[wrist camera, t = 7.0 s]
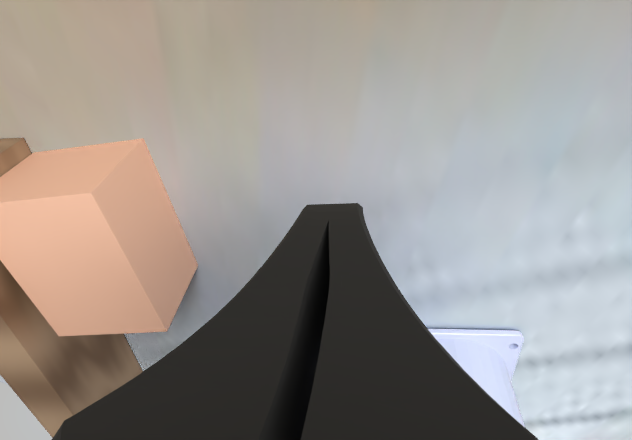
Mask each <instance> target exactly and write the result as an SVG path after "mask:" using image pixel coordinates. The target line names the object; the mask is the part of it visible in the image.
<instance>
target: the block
mask: <svg viewBox="0 0 632 440" xmlns="http://www.w3.org/2000/svg"><path fill="white" fill-rule="evenodd" d="M0 260H1V262H2V263H3V264H4V266H5V267H6V268H7V270H8V271H9V272H10V273H11V275H12V276H13V277H14V279H15V280H16V281H17V283H18V284H19V285H20V286H21V288H22V289H23V290H24V292H25V293H26V294H27V296H28V297H29V298H30V300H31V301H32V302H33V303H34V305H35V306H36V307H37V309H38V310H39V311H40V313H41V314H42V315H43V316H44V318H45V319H46V320H47V322H48V323H49V324H50V326H51V327H52V328H53V329H54V331H55V332H56V333H57V335H58V336H78V335H100V334H123V333H145V332H167V331H168V329H169V327H170V324H171V322H172V320H173V318H174V316H175V314H176V312H177V309H178V307H179V305H180V303H181V301H182V299H183V297H184V294H185V292H186V290H187V288H188V286H189V284H190V282H191V279H192V277H193V275H194V273H195V271H196V269H197V267H198V264H197V262H196V259H195V257H194V255H193V252H192V250H191V248H190V245H189V243H188V241H187V238H186V236H185V234H184V231H183V229H182V227H181V224H180V222H179V220H178V217H177V215H176V213H175V210H174V208H173V206H172V203H171V201H170V199H169V197H168V194H167V192H166V190H165V187H164V185H163V183H162V180H161V178H160V176H159V173H158V171H157V169H156V166H155V164H154V162H153V159H152V157H151V155H150V152H149V150H148V148H147V145H146V143H145V141H144V139H136V140H128V141H120V142H113V143H105V144H97V145H89V146H81V147H74V148H66V149H58V150H50V151H43V152H35V153H32V154H31V155H29V156H28V157H27V158H25V159H24V160H23V161H21V162H20V163H19V164H17V165H16V166H14V167H13V168H12V169H10V170H9V171H8V172H6V173H5V174H4V175H2V176H1V177H0Z"/></svg>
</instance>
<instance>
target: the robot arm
mask: <svg viewBox="0 0 632 440" xmlns="http://www.w3.org/2000/svg"><path fill="white" fill-rule="evenodd" d="M523 341H524V337H523V335H522V333H521V332H519V331H515V330H468V329H427V328H426V326H425V325H424V324H423V322H422V321H421V320H420V319H419V317H418V316H417V315H416V313H415V312H414V311H413V309H412V308H411V307H410V305H409V304H408V302H407V301H406V300H405V298H404V297H403V295H402V294H401V292H400V290H399V289H398V287H397V286H396V284H395V283H394V281H393V279H392V278H391V276H390V274H389V273H388V271H387V269H386V267H385V265H384V264H383V262H382V260H381V258H380V256H379V254H378V252H377V250H376V248H375V246H374V244H373V241H372V239H371V237H370V234H369V231H368V229H367V226H366V223H365V220H364V216H363V207H361V206H360V205H359V204H358V203H352V204H319V205H307V206H306V207H305V208H304V209H303V210H302V212H301V213H300V215H299V217H298V218H297V220H296V221H295V223H294V224H293V226H292V227H291V229H290V230H289V232H288V233H287V234H286V236H285V237H284V239H283V240H282V241H281V243H280V244H279V245H278V247H277V248H276V249H275V251H274V252H273V253H272V255H271V256H270V257H269V258H268V260H267V261H266V262H265V263H264V264H263V266H262V267H261V268H260V269H259V270H258V271H257V273H256V274H255V275H254V276H253V277H252V278H251V280H250V281H249V282H248V283H247V284H246V285H245V286H244V287H243V288H242V290H241V291H240V292H239V293H238V294H237V295H236V296H235V297H234V298H233V299H232V300H231V301H230V302H229V303H228V304H227V305H226V306H225V307H224V308H223V309H222V310H220V311H219V312H218V313H217V314H216V315H215V316H214V317H213V318H212V319H211V320H209V321H208V322H207V323H206V324H205V325H204V326H203V327H201V328H200V329H199V330H198V331H196V332H195V333H194V334H193V335H192V336H190V337H189V338H188V339H187V340H186V341H184V342H183V343H182V344H181V345H179V346H178V347H177V348H176V349H174V350H173V351H171V352H170V353H169V354H167V355H166V356H165V357H163V358H162V359H161V360H159V361H158V362H156V363H155V364H154V365H152V366H151V367H149V368H148V369H146V370H145V371H143V372H142V373H141V374H139V375H138V376H136V377H135V378H133V379H132V380H130V381H129V382H127V383H125V384H124V385H122V386H121V387H119V388H118V389H116V390H114V391H113V392H111V393H109V394H108V395H106V396H104V397H103V398H101V399H100V400H98V401H96V402H95V403H93V404H91V405H90V406H88V407H86V408H85V409H83V410H82V411H80V412H78V413H77V414H75V415H73V416H71V417H70V418H68V419H66V420H64V422H63V423H62V425H61V426H60V428H59V429H58V431H57V432H56V434H55V435H54V437H53V439H52V440H538V439H537V438H536V437H535V436H534V435H533V434H532V433H530V432H529V431H528V430H527V429H526V428H525V424H524V421H523V418H522V415H521V412H520V408H519V405H518V402H517V399H516V395H515V392H514V389H513V386H512V382H511V381H512V377H513V374H514V371H515V368H516V364H517V361H518V358H519V355H520V351H521V348H522V345H523Z"/></svg>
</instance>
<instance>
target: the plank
mask: <svg viewBox="0 0 632 440" xmlns="http://www.w3.org/2000/svg"><path fill="white" fill-rule="evenodd" d="M31 154H32V153H31V151H30V149H29V147H28V146H27V144H26V142H25V140H24V138H9V139H0V177H1V176H2V175H4V174H5V173H6V172H8V171H9V170H10V169H12V168H13V167H14V166H16V165H17V164H19V163H20V162H21V161H23V160H24V159H25V158H27V157H28V156H29V155H31ZM142 372H143V371H142V369H141V367H140V365H139V363H138V362H137V360H136V358H135V356H134V354H133V352H132V350H131V348H130V346H129V344H128V342H127V340H126V338H125V336H124V334H100V335H78V336H58V335H57V333H56V332H55V331H54V329H53V328H52V327H51V326H50V324H49V323H48V322H47V320H46V319H45V318H44V316H43V315H42V314H41V313H40V311H39V310H38V309H37V307H36V306H35V305H34V303H33V302H32V301H31V300H30V298H29V297H28V296H27V294H26V293H25V292H24V290H23V289H22V288H21V286H20V285H19V284H18V283H17V281H16V280H15V279H14V277H13V276H12V275H11V273H10V272H9V271H8V270H7V268H6V267H5V266H4V264H3V263H2V262H1V260H0V375H1V376H2V377H3V378H4V380H5V381H6V382H7V383H8V384H9V386H10V387H11V388H12V389H13V390H14V392H15V393H16V394H17V395H18V396H19V398H20V399H21V400H22V401H23V402H24V404H25V405H26V406H27V407H28V409H29V410H30V411H31V412H32V413H33V415H34V416H35V417H36V418H37V419H38V421H39V422H40V423H41V424H42V425H43V427H44V428H45V429H46V430H47V432H48V433H49V434H50V435H51V436H52V438H53V437H54V435H55V434H56V432H57V431H58V429H59V428H60V426H61V425H62V423H63V422H64V420H66V419H68V418H70V417H71V416H73V415H75V414H77V413H78V412H80V411H82V410H83V409H85V408H86V407H88V406H90V405H91V404H93V403H95V402H96V401H98V400H100V399H101V398H103V397H104V396H106V395H108V394H109V393H111V392H113V391H114V390H116V389H118V388H119V387H121V386H122V385H124V384H125V383H127V382H129V381H130V380H132V379H133V378H135V377H136V376H138V375H139V374H141V373H142Z"/></svg>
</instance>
